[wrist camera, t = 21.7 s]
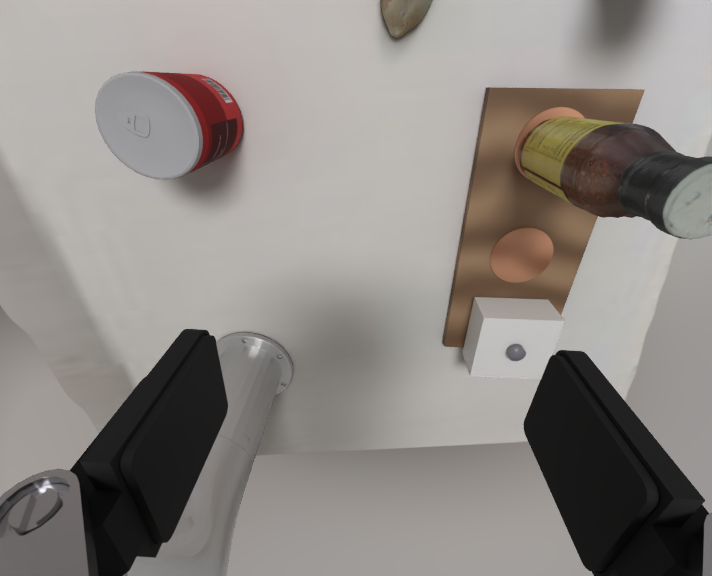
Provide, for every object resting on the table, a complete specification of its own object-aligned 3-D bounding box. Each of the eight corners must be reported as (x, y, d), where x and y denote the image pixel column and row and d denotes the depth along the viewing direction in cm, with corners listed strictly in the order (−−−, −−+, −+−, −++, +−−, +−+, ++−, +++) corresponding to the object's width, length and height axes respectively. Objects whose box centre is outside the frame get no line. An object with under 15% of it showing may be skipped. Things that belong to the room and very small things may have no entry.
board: (544, 344, 49) (548, 351, 48) (442, 340, 50) (444, 347, 48) (636, 89, 33) (646, 89, 32) (486, 87, 34) (490, 87, 33)
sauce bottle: (585, 165, 36) (779, 242, 18) (522, 191, 37) (646, 284, 20) (575, 98, 33) (793, 117, 16) (507, 130, 34) (637, 178, 17)
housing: (529, 355, 48) (545, 384, 43) (462, 352, 48) (471, 380, 44) (548, 299, 43) (568, 325, 39) (474, 296, 44) (485, 322, 39)
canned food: (161, 70, 35) (79, 66, 25) (241, 77, 34) (190, 75, 25) (175, 153, 38) (110, 176, 29) (248, 159, 38) (206, 184, 29)
